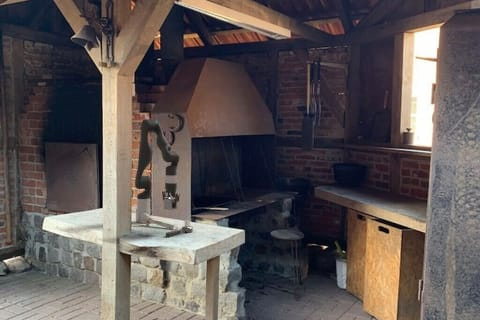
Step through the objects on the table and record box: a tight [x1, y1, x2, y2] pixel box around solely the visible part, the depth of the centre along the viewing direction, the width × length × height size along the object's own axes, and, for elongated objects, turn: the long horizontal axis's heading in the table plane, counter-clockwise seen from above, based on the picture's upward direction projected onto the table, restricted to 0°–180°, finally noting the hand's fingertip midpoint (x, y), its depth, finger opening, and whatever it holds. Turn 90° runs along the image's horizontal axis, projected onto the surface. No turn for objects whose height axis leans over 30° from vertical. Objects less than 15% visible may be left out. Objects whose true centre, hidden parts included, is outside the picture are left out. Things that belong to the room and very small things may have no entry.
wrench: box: [141, 213, 179, 231], centre depth 302 cm, size 8×2×30 cm
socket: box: [163, 198, 178, 211], centre depth 287 cm, size 6×6×6 cm
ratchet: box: [165, 219, 194, 238], centre depth 285 cm, size 7×22×8 cm, turn 146°
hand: (170, 207), depth 287 cm, fingers closed on socket, 6 cm apart
